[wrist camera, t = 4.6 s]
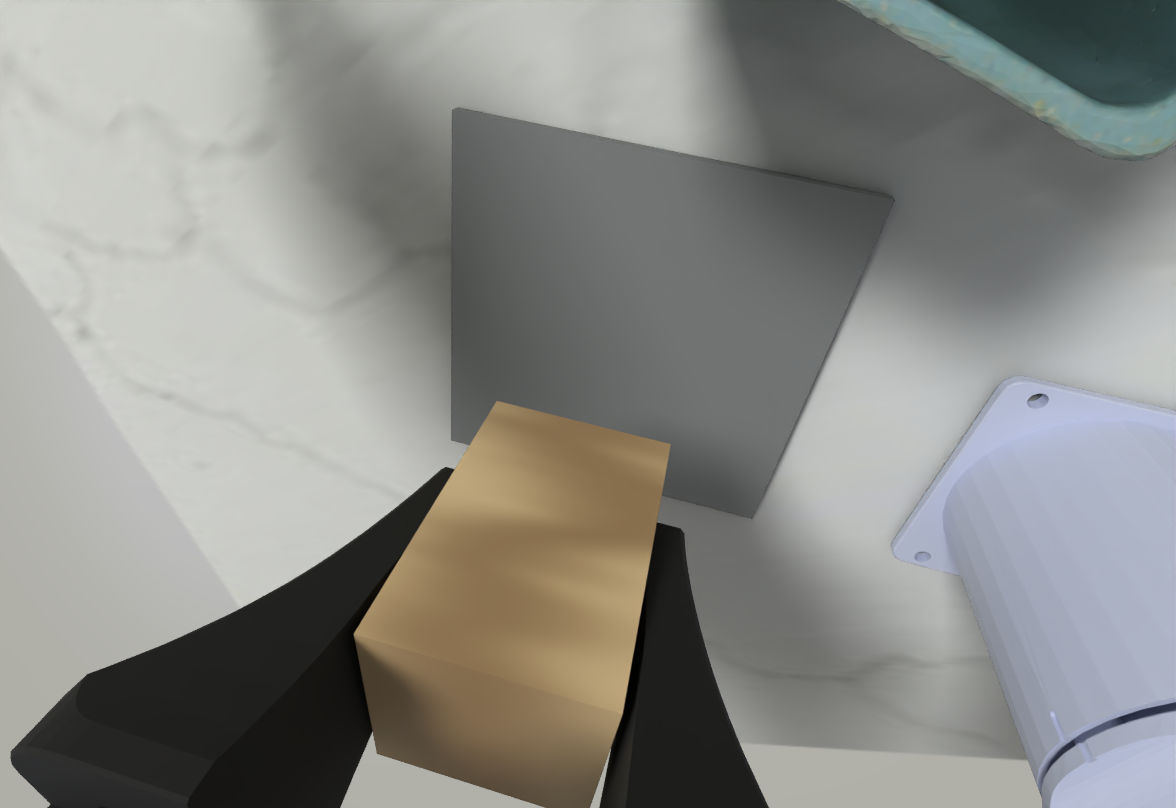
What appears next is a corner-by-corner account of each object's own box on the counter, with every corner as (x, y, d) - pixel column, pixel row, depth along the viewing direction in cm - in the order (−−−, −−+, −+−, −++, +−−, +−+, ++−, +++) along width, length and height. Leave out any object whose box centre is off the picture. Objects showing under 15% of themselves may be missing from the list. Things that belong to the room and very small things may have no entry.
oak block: (670, 444, 13) (622, 714, 8) (637, 559, 15) (585, 820, 11) (496, 400, 13) (353, 633, 9) (491, 520, 16) (377, 753, 11)
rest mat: (891, 195, 15) (895, 200, 15) (752, 511, 22) (752, 518, 22) (457, 107, 17) (451, 109, 16) (455, 434, 24) (451, 440, 23)
